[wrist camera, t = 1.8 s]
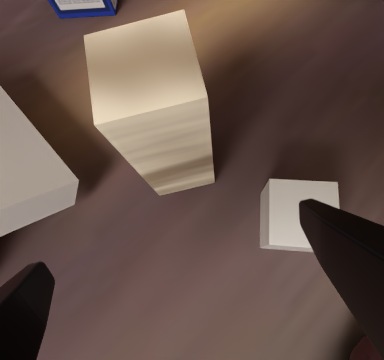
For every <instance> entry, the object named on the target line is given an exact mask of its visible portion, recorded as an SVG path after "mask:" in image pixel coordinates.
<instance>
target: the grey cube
mask: <svg viewBox="0 0 384 360" xmlns="http://www.w3.org/2000/svg"><path fill="white" fill-rule="evenodd" d="M310 198H312V199H315V200H318V201H320V202H323V203H325V204H328V205H330V206H333V207H336V208H338V209H339V195H338V182H324V181H304V180H284V179H269V181H268V182H267V184H266V186H265V187H264V189H263V191H262V192H261V204H260V248H267V249H280V250H293V251H305V252H314V251H313V250H312V248H311V246H310V244H309V242H308V240H307V238H306V236H305V234H304V232H303V230H302V228H301V225H300V220H299V202H300V201H302V200H306V199H310Z"/></svg>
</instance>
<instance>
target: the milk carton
mask: <svg viewBox="0 0 384 360" xmlns="http://www.w3.org/2000/svg"><path fill="white" fill-rule="evenodd" d="M48 1H49V3H50V4H51V6H52V7H53V9H54V10H55V12H56V13H57V15H58V16H59V18H76V17H93V16H111V15H116V10H117V3H118V0H48Z"/></svg>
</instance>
